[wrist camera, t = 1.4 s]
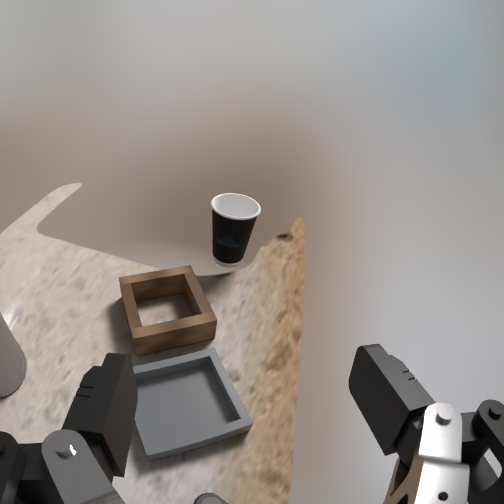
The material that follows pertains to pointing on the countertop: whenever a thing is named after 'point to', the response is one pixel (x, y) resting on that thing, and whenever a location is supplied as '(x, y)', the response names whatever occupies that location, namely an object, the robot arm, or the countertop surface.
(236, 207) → the dixie cup
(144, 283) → the hollow wooden square
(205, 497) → the vaping device
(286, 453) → the countertop surface
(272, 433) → the countertop surface
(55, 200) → the countertop surface
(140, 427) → the tray
